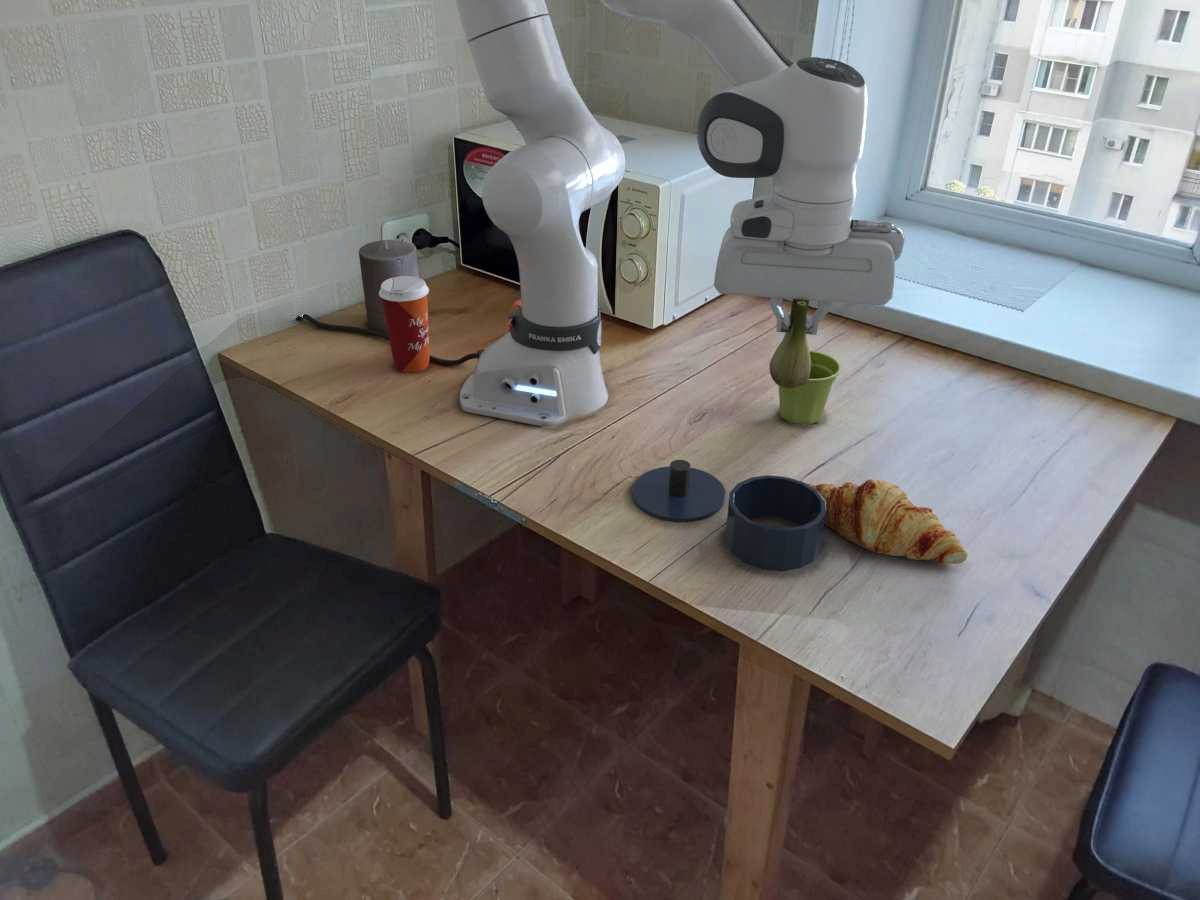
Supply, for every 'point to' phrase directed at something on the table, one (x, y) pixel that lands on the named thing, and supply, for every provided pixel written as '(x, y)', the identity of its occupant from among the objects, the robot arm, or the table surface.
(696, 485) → the lid
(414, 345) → the paper cup
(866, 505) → the croissant
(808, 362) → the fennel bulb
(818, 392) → the plant pot
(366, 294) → the pillar candle
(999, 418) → the table surface
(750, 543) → the pot
